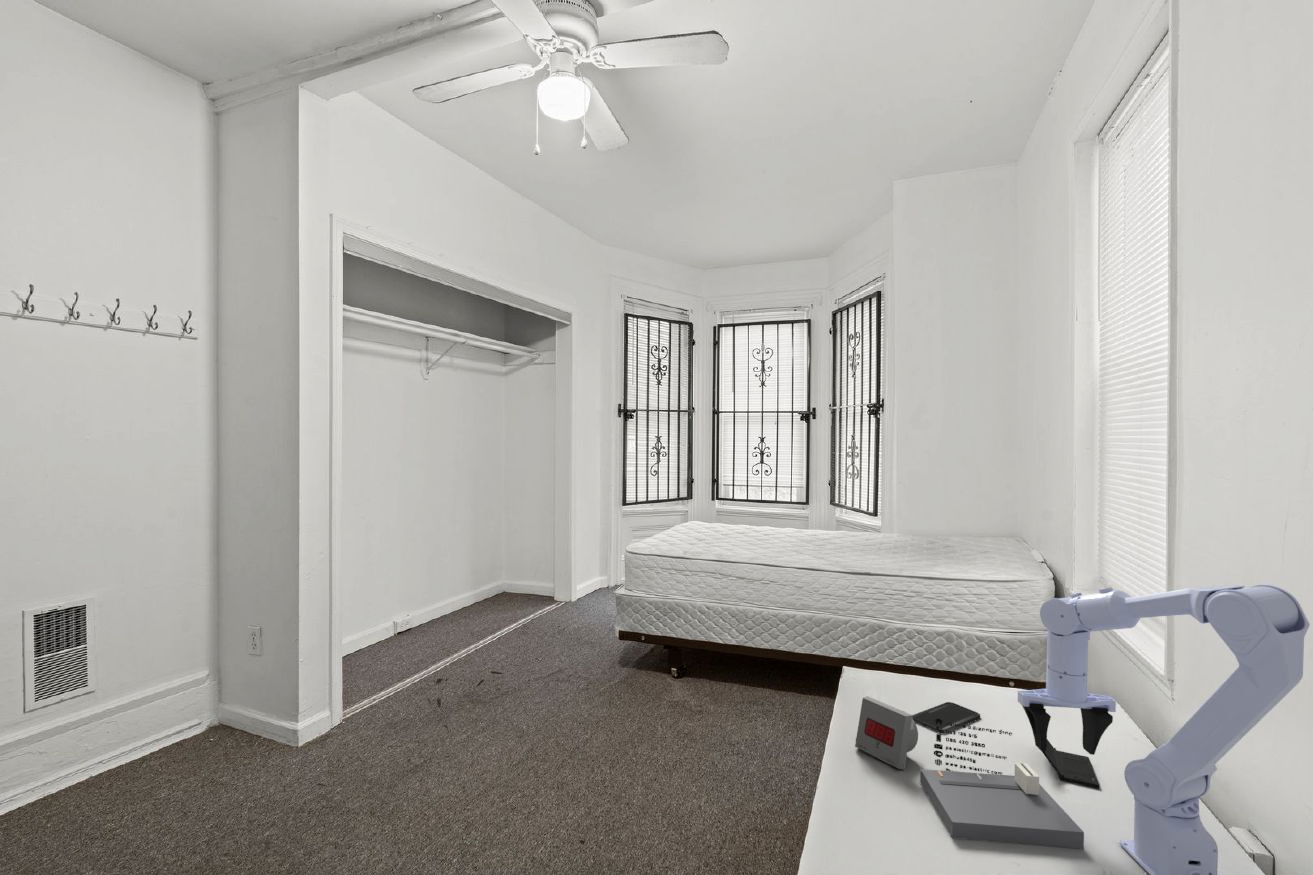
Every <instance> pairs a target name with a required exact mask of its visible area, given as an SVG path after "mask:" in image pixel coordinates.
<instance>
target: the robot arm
mask: <svg viewBox="0 0 1313 875" xmlns="http://www.w3.org/2000/svg"><path fill="white" fill-rule="evenodd" d="M1245 587H1246V586H1245V585H1218V586H1217V585H1214V586H1213V585H1212V586H1209V585H1208V586H1198V587H1190V588H1189V587H1188V588H1183V589H1178V590H1170V591H1165V592H1163V591H1162V592H1158V593H1152V594H1146V595H1140V596H1139V595H1138V596H1132V595H1130V594H1128V593H1127V592H1125V591H1124V590H1119V589H1115V590H1114V589H1113V587H1111V586H1110V587H1103V588H1102V587H1101V588H1099V589H1098V592H1096V593H1095V592H1094V593H1089V594H1083V593H1081V592H1076V593H1071V594H1070V595H1071V596H1068V597H1060V598H1058V597H1053V598H1050V599H1049V600H1046V601H1044V602H1043V603H1042V605H1041V607H1040V610H1039V617H1040V620H1041V622H1042V624H1043V626H1044V627H1045V628H1046V629H1047V630H1046V631H1047V637H1046V641H1047V642H1046V643H1047V644H1046V674H1045V675H1046V679H1045V680H1046V681H1045V688H1039V689H1038V688H1037V689H1030V690H1020V689H1019V690H1017V702H1018V703H1019V704H1020V705H1021V706H1022V708H1023V710H1024V712H1025V715H1026V717H1027V720H1028V722H1029V724H1030V726H1031V730H1032V734H1033V739H1034V744H1035V746H1036V747H1037V749H1039V750H1040V751H1041V752H1042V751H1046V748H1047V739H1048V729H1049V725H1050V720H1051V718H1052V716H1051V715H1050V714H1049V713H1047V712H1046V711H1047V710H1046V708H1045V707H1054V708H1071V709H1072V708H1073V709H1079V710H1080V713H1081V714H1080V715H1081V721H1082V741H1081V742H1082V749H1083V750H1085V751H1086V752H1087V753H1088V754H1089V755H1091V756H1092V755H1093V756H1094V755H1095V754H1096V751H1097V747H1098V745H1099V743H1100V741H1101V738H1102V737H1103V734H1104V733H1105V731H1106V730H1107V729H1108V728H1109V726H1110V725H1111V724H1113V715H1111V713H1116V711H1117V708H1116V707H1117V706H1116V705H1117V701H1116V700H1115V699H1114V698H1112V697H1111V696H1109V695H1103V694H1096V693H1089V692H1088V672H1089V670H1088V669H1089V668H1088V663H1089V662H1088V661H1089V641H1090V637H1091V632H1101V631H1111V630H1112V631H1115V630H1123V629H1132V628H1134V627H1136V625H1137V624H1138V623H1139V621H1140V619H1141V618H1142V619H1143V618H1158V617H1170V616H1171V617H1172V616H1184V615H1185V616H1186V615H1190V616H1191V617H1193V618H1194V620H1196V621H1198V622H1199V623H1201V624H1210V626H1211V627H1212V629H1213V630H1214V631H1215V632H1216V634H1218V636H1219V637H1220V639H1221V640H1222V641H1223V642H1224V643H1225V645H1226V646H1227V647H1228V648H1229V650H1230V651H1231V652H1232V653H1233V655H1234V656H1235V658H1236V660H1237V662H1238V667H1237V668H1236V669H1235V670H1234V672H1233V673H1231V675H1230V676H1229V677H1228V678H1227V679H1226V680H1225V681H1224V682H1223V683H1222V684H1221V685H1220V687H1218V688H1217V689H1216V690H1215V691H1214V692H1213V694H1212V695H1210V697H1209V698H1208V699H1207V700H1206V701H1205V702H1204V703H1203V704H1202V705H1201V706H1200V707H1199V709H1197V710H1196V712H1195V713H1194V714H1193V715H1192V716H1191V717H1190V718H1189V719H1188V720H1187V721H1186V722H1185V724H1183V726H1182V727H1180V728H1179V730H1178V731H1177V732H1176V733H1175V734H1174V735H1173V736H1172V737H1171V738H1169V740H1168V741H1167V742H1165V743H1164V744H1162V745H1160V746H1159V747H1157V748H1155V749H1154V750H1152V751H1150V753H1149V754H1148V755H1146V756H1145V757H1144V758H1139V759H1133V760H1132V761H1130V762H1128V763H1127V765H1126V766H1125V768H1124V773H1123V774H1124V780H1125V783H1126V785H1127V787H1128V789H1129V791H1130V793H1131V794H1132V795H1133V799H1134V814H1133V816H1134V818H1133V840H1126V839H1124V840H1123V839H1120V840H1119V841H1118V843H1119V845H1120V846H1121V847H1122V848H1123V849H1124V850H1125V851H1126V852H1127V853H1128V854H1129V855H1130V856H1131V858H1133V859H1134V860H1135V861H1136V862H1137V863H1138V865H1139V866H1141V867H1142V868H1143V870H1145V872H1147V873H1148V875H1218V867H1219V866H1218V862H1219V860H1218V859H1219V858H1218V857H1219V855H1218V854H1219V849H1218V844H1217V842H1216V840H1215V838H1214V837H1213V836H1212V835H1211V834H1210V833H1209V831H1208V830H1207V829H1206V828H1205V826H1204V824H1203V822H1202V820H1201V816H1200V797H1203V796H1205V795H1206V794H1208V792H1209V790H1210V787H1211V778H1212V776H1213V775H1214V774H1215V773H1216V772H1217V771H1218V767H1217V766H1216V764H1217V763H1218V762H1219V761H1220V760H1221V759H1222V758H1223V757H1225V755H1226V754H1227V753H1229V752H1230V750H1232V749H1233V747H1234V746H1236V745H1237V743H1239V742H1240V741H1241V740H1242V739H1243V738H1244V737H1245V736H1246V735H1247V734H1248V733H1249V732H1250V731H1251V730H1253V728H1254V727H1255V726H1256V725H1258V723H1259V722H1260V721H1262V719H1263V718H1264V717H1266V715H1267V714H1268V713H1270V712H1271V711H1272V710H1273V709H1274V708H1275V706H1277V705H1278V704H1279V703H1280V702H1281V701H1282V700H1283V699H1284V698H1285V697H1286V696H1287V695H1288V694H1289V693H1290V692H1291V691H1292V690H1293V689H1294V688H1295V687H1296V686H1298V685H1299V683H1300V682H1301V680H1302V679H1303V675H1304V654H1305V653H1304V652H1305V650H1304V648H1305V636H1306V634H1307V632H1308V630H1309V627H1310V622H1309V619H1308V618H1307V616H1306V614H1305V612H1304V610H1303V608H1302V606H1301V604H1300V603H1299V600H1297V599H1296V597H1295V596H1294V595H1293V594H1291V593H1290V592H1288V591H1287V590H1285V589H1283V588H1281V587H1279V586H1276V585H1271V584H1258V585H1254V586H1250V587H1246V588H1245ZM1109 712H1110V713H1109Z"/></svg>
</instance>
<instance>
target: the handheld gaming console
mask: <svg viewBox="0 0 1313 875" xmlns="http://www.w3.org/2000/svg"><path fill="white" fill-rule="evenodd" d="M1041 752H1042V754H1043V755H1044V757H1045V758H1046V759H1047V761H1048V762H1049V763H1050V765H1051V767H1053V769H1054V770H1055V772H1056V773H1057V774H1058V778H1059V781H1062V782H1066V783H1070V784H1076V785H1079V786H1083V787H1088V788H1092V789H1096V790H1099V789H1100V786H1101V785H1100V783H1099V781H1098V778H1097V776H1096V772H1095V770H1094V767H1093V765H1092V762H1091V759H1090V757H1089V756H1086V755H1080V754H1076V753H1072V752H1071V753H1070V752H1066V751H1062V750H1057V748H1056V747H1054V746H1053V745H1052V744H1051V742H1050V740H1048V738H1047V748H1046V751H1041Z"/></svg>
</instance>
